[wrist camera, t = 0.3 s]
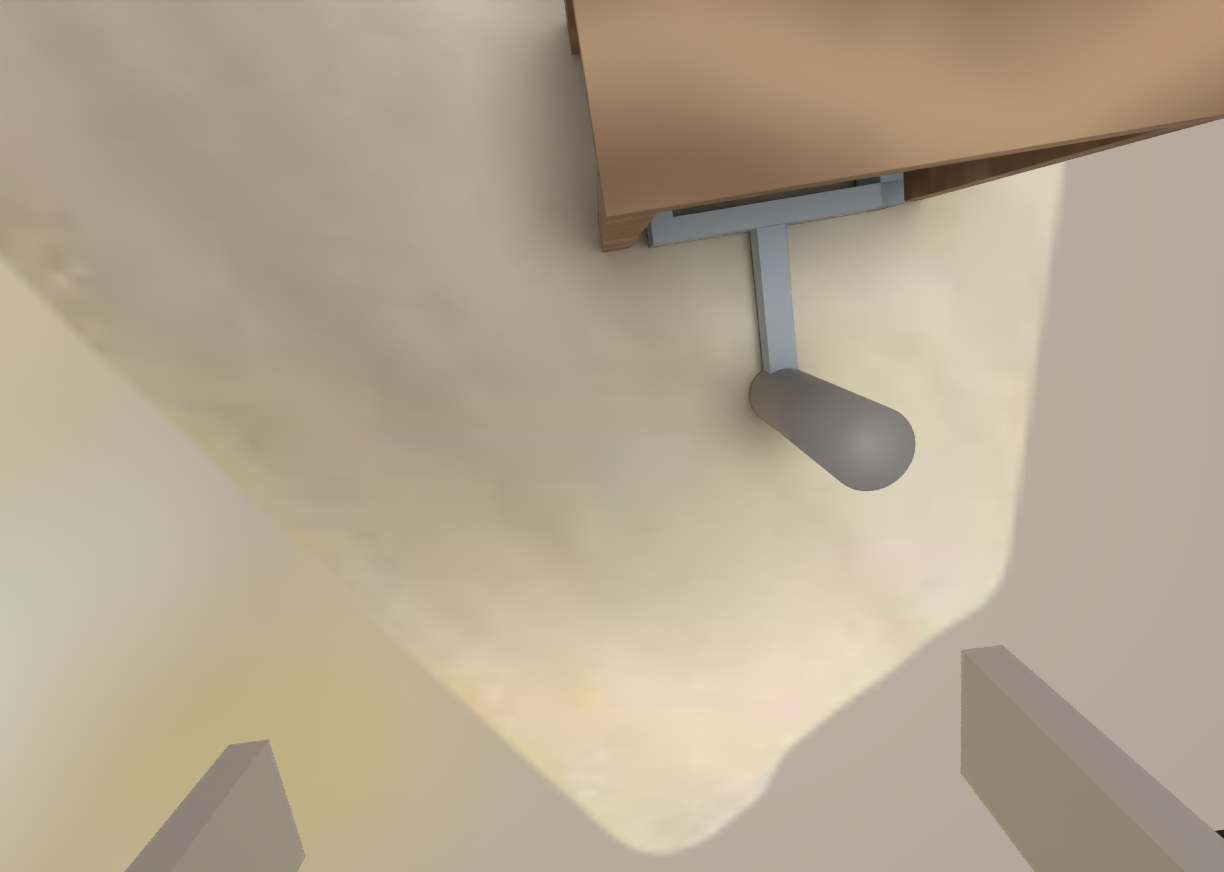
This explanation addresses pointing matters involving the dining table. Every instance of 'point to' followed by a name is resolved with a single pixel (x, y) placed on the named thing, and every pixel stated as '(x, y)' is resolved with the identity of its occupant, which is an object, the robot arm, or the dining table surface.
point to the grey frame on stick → (781, 394)
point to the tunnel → (875, 92)
